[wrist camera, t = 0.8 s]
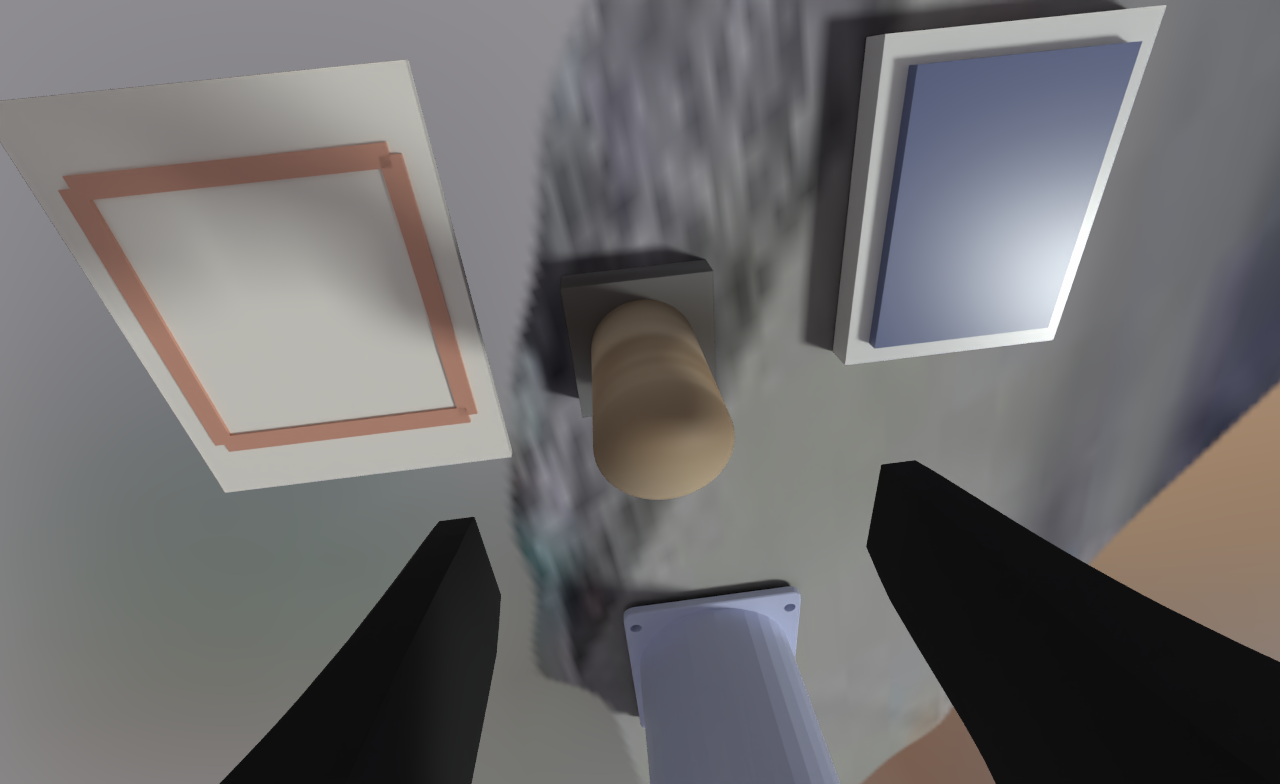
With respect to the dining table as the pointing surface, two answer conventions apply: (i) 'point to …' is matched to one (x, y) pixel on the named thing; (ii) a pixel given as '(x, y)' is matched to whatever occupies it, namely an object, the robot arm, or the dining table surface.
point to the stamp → (649, 375)
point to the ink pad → (981, 178)
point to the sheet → (275, 265)
